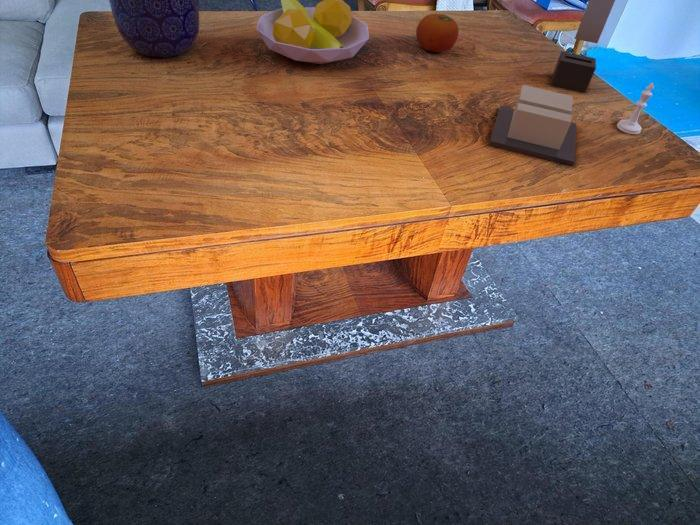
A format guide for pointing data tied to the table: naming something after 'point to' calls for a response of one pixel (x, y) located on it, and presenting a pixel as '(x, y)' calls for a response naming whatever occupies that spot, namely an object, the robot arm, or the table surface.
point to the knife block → (573, 71)
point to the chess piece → (636, 114)
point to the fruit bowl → (313, 31)
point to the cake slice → (539, 126)
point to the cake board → (502, 141)
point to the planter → (157, 25)
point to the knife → (594, 20)
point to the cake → (544, 100)
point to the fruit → (437, 32)
